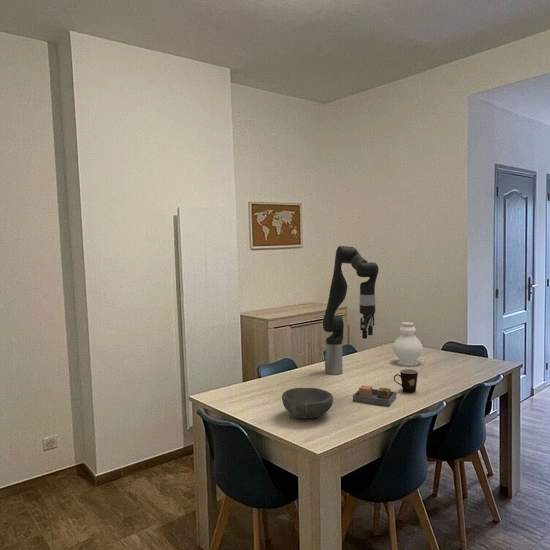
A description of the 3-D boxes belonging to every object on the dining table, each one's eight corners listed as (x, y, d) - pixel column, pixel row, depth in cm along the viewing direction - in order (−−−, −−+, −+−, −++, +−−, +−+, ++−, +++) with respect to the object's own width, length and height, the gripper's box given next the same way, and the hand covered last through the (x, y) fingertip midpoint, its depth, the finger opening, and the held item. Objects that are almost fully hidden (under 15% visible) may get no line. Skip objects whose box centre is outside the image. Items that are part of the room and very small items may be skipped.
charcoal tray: (352, 401, 230) (352, 395, 230) (361, 393, 242) (361, 387, 242) (388, 406, 222) (388, 400, 222) (396, 398, 234) (396, 391, 234)
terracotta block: (359, 398, 233) (359, 388, 233) (362, 395, 238) (362, 385, 237) (369, 399, 231) (369, 389, 230) (372, 396, 235) (372, 386, 235)
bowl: (338, 424, 202) (338, 401, 202) (284, 427, 201) (284, 403, 200) (328, 405, 225) (327, 384, 224) (279, 408, 223) (279, 386, 223)
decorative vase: (401, 368, 287) (401, 326, 285) (387, 360, 304) (387, 321, 302) (428, 365, 291) (428, 324, 289) (413, 358, 308) (413, 319, 307)
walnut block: (377, 400, 229) (377, 390, 229) (380, 397, 233) (380, 387, 233) (387, 402, 227) (387, 391, 226) (390, 399, 231) (390, 388, 231)
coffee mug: (418, 389, 247) (418, 369, 246) (417, 394, 239) (417, 374, 238) (394, 387, 251) (394, 368, 250) (393, 392, 243) (393, 372, 242)
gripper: (364, 301, 242) (364, 333, 243) (355, 305, 230) (355, 339, 231) (379, 302, 239) (379, 334, 240) (370, 306, 226) (370, 340, 227)
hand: (367, 336), depth 235 cm, fingers open, 8 cm apart
